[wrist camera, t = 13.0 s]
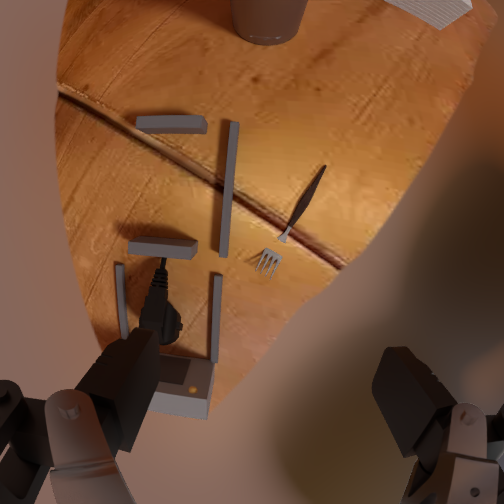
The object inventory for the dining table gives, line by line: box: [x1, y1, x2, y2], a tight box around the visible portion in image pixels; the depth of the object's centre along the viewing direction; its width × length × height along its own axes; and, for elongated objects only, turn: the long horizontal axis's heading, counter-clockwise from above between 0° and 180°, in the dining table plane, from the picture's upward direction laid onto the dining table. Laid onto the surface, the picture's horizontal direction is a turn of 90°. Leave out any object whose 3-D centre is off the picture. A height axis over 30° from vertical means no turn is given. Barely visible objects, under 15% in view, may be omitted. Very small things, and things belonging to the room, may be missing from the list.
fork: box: [255, 165, 326, 280], centre depth 35 cm, size 3×16×2 cm, turn 150°
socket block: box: [116, 264, 223, 420], centre depth 34 cm, size 18×15×9 cm
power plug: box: [139, 257, 183, 345], centre depth 36 cm, size 6×8×12 cm
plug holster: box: [128, 115, 239, 260], centre depth 32 cm, size 17×12×4 cm
